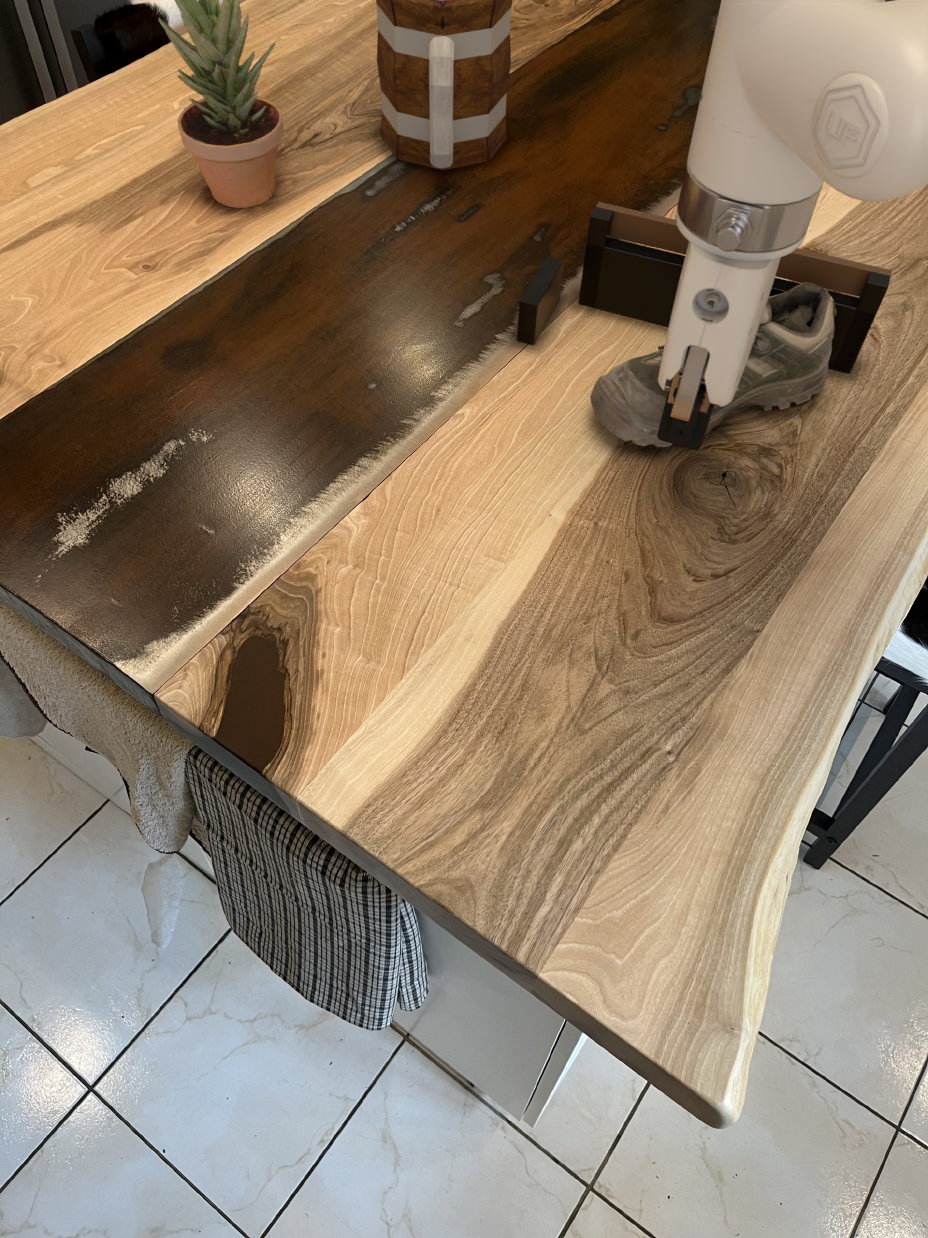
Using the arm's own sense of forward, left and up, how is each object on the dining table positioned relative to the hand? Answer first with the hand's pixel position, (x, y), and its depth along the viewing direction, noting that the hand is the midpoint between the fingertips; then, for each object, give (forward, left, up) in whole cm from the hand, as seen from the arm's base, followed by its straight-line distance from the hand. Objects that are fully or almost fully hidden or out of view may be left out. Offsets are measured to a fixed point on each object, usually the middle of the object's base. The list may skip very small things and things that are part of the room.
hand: (680, 437), depth 68 cm
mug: (+34, -37, -4) cm, 50 cm away
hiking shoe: (0, -9, -4) cm, 10 cm away
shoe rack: (+3, -15, -4) cm, 16 cm away
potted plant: (+49, -22, -4) cm, 54 cm away
